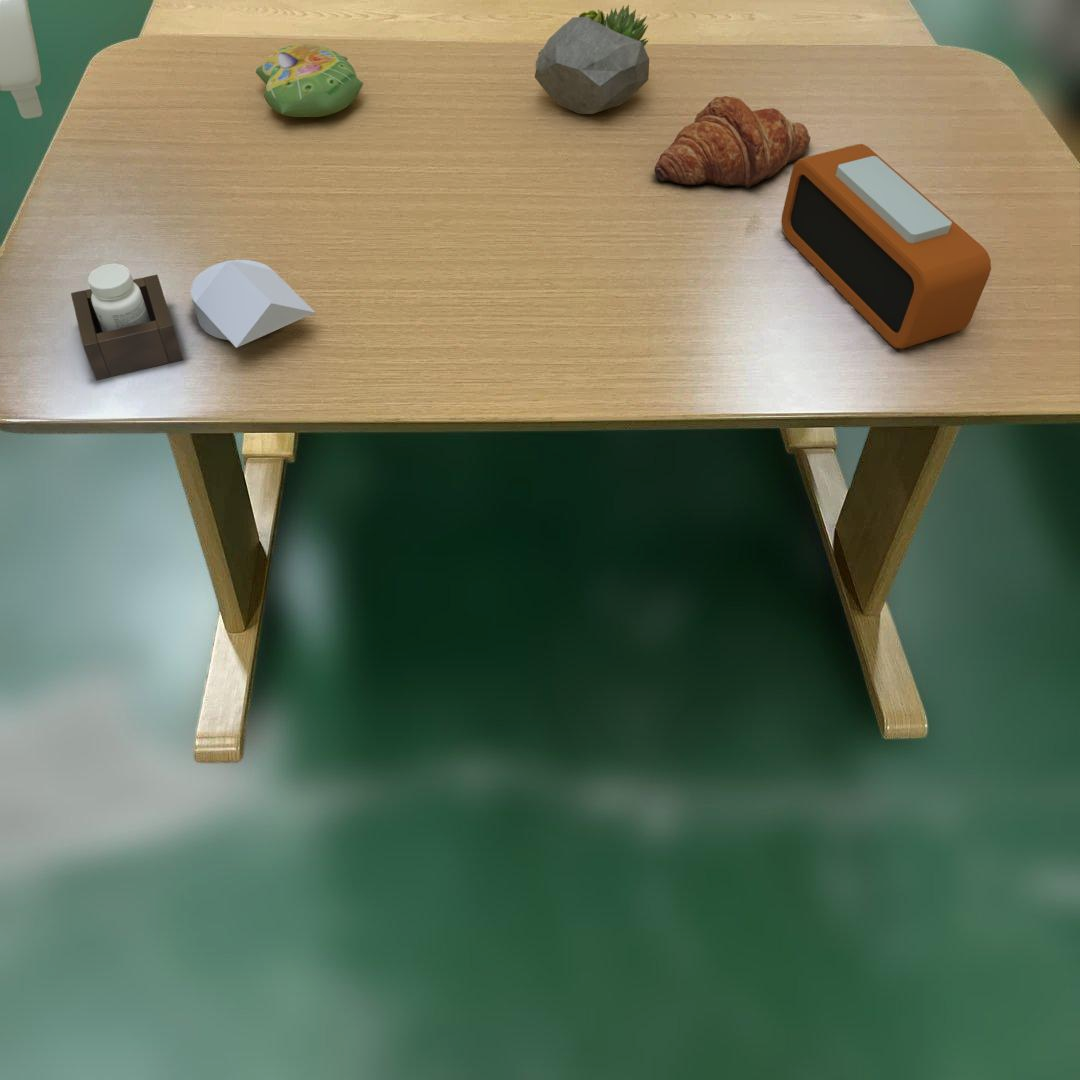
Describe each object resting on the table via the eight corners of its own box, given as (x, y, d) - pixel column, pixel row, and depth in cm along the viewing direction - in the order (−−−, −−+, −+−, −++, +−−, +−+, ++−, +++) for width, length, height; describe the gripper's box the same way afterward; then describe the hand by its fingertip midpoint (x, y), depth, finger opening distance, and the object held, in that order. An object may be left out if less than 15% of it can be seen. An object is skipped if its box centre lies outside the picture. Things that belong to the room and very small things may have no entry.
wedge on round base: (319, 338, 115) (257, 275, 121) (311, 285, 110) (246, 222, 116) (242, 373, 111) (182, 306, 117) (229, 321, 106) (167, 253, 112)
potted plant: (513, 75, 143) (574, 1, 147) (582, 148, 147) (639, 74, 152) (557, 34, 132) (621, -45, 137) (630, 114, 136) (690, 35, 141)
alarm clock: (776, 230, 129) (797, 141, 120) (836, 214, 131) (860, 126, 122) (901, 357, 115) (934, 268, 106) (965, 337, 118) (1002, 248, 109)
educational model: (345, 61, 151) (341, 21, 147) (374, 121, 141) (370, 81, 137) (252, 75, 148) (244, 35, 144) (275, 137, 138) (268, 97, 134)
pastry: (698, 115, 144) (706, 56, 138) (812, 145, 140) (826, 85, 134) (650, 181, 135) (657, 120, 128) (771, 215, 131) (785, 154, 124)
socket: (96, 380, 110) (82, 345, 107) (83, 327, 115) (70, 292, 111) (183, 359, 112) (172, 325, 109) (167, 308, 117) (157, 274, 114)
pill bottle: (163, 330, 115) (142, 263, 108) (145, 360, 112) (121, 294, 105) (120, 324, 115) (96, 257, 109) (101, 354, 112) (74, 287, 106)
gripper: (-77, -125, 93) (-20, 37, 104) (-65, -18, 81) (-2, 152, 92) (2, -133, 95) (50, 27, 105) (26, -29, 83) (77, 140, 94)
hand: (26, 86), depth 98 cm, fingers open, 8 cm apart
